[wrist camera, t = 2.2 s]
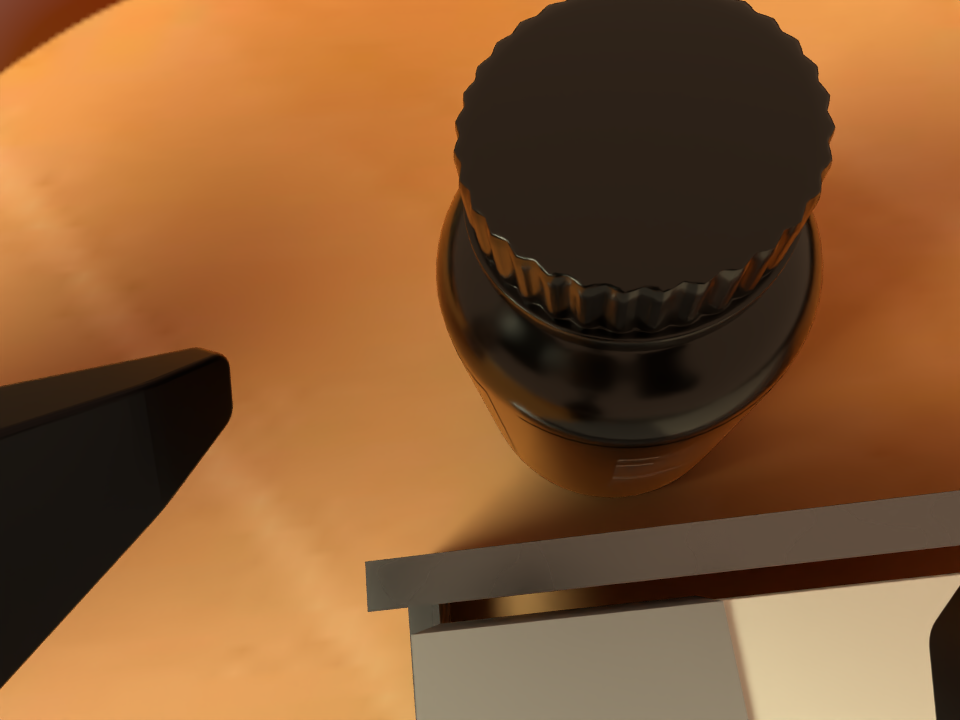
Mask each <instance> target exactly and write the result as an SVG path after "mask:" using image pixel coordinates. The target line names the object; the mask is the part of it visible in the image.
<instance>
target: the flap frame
mask: <svg viewBox="0 0 960 720" xmlns="http://www.w3.org/2000/svg"><path fill="white" fill-rule="evenodd" d="M958 545H960V490H959V491H950V492H942V493H934V494H925V495H917V496H909V497H901V498H892V499H884V500H876V501H867V502H859V503H851V504H842V505H834V506H826V507H817V508H809V509H801V510H792V511H784V512H776V513H767V514H759V515H751V516H742V517H734V518H726V519H717V520H709V521H701V522H692V523H684V524H676V525H667V526H659V527H651V528H642V529H634V530H626V531H617V532H609V533H601V534H592V535H584V536H576V537H567V538H559V539H551V540H542V541H534V542H526V543H517V544H509V545H501V546H492V547H484V548H476V549H467V550H459V551H451V552H443V553H434V554H426V555H418V556H409V557H401V558H393V559H384V560H376V561H368V562H365V566H366V586H367V606H368V612H372V611H381V610H390V609H399V608H407V607H408V612H409V626H410V641H411V635H412V634H415V633H417V632H420V631H423V630H425V629H428V628H430V627H433V626H436V625H438V624H442V623H451V617H450V606H449V603H452V602H461V601H470V600H478V599H487V598H496V597H505V596H514V595H523V594H532V593H540V592H549V591H558V590H567V589H576V588H585V587H594V586H603V585H611V584H620V583H629V582H638V581H647V580H656V579H665V578H674V577H682V576H691V575H700V574H709V573H718V572H727V571H736V570H745V569H753V568H762V567H771V566H780V565H789V564H798V563H807V562H816V561H824V560H833V559H842V558H851V557H860V556H869V555H878V554H887V553H895V552H904V551H913V550H922V549H931V548H940V547H949V546H958ZM411 655H412V641H411ZM412 670H413V684H414V669H413V655H412ZM414 699H415V713H416V698H415V684H414ZM416 720H417V713H416Z"/></svg>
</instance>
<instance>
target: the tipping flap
mask: <svg viewBox="0 0 960 720" xmlns="http://www.w3.org/2000/svg"><path fill="white" fill-rule="evenodd" d="M959 586H960V573H951V574H942V575H932V576H923V577H914V578H905V579H896V580H887V581H877V582H868V583H859V584H850V585H841V586H831V587H822V588H813V589H804V590H795V591H786V592H776V593H767V594H758V595H749V596H740V597H731V598H721V599H710V598H705V597H699V596H688V597H678V598H669V599H660V600H651V601H642V602H633V603H624V604H615V605H606V606H596V607H587V608H578V609H569V610H560V611H551V612H542V613H533V614H524V615H515V616H505V617H496V618H487V619H478V620H469V621H460V622H451V623H442V624H438V625H436V626H433V627H430V628H428V629H425V630H423V631H420V632H417V633H415V634H412V635H411V641H412V655H413V669H414V684H415V698H416V713H417V720H936V714H935V704H934V693H933V683H932V673H931V662H930V652H929V637H930V632H931V629H932V626H933V624H934V622H935V621H936V619H937V618H938V616H939V615H940V613H941V612H942V610H943V609H944V608H945V606H946V605H947V603H948V602H949V600H950V599H951V597H952V596H953V594H954V593H955V592H956V590H957V589H958V587H959Z"/></svg>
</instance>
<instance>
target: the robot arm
mask: <svg viewBox="0 0 960 720" xmlns="http://www.w3.org/2000/svg"><path fill="white" fill-rule="evenodd" d="M232 409H233V401H232V389H231V377H230V366H229V362H228V360H227V358H226V357H225V356H224V355H222V354H220V353H217V352H213V351H210V350H206V349H203V348H196V347H195V348H189V349H184V350H179V351H174V352H169V353H164V354H159V355H154V356H149V357H144V358H140V359H135V360H130V361H125V362H120V363H115V364H110V365H105V366H100V367H95V368H90V369H85V370H80V371H75V372H70V373H65V374H60V375H55V376H50V377H45V378H40V379H35V380H30V381H25V382H20V383H15V384H10V385H5V386H0V689H1V688H2V687H3V686H4V685H5V683H6V682H7V681H8V680H9V679H10V678H11V677H12V676H13V675H14V674H15V672H16V671H17V670H18V669H19V668H20V667H21V666H22V665H23V664H24V663H25V661H26V660H27V659H28V658H29V657H30V656H31V655H32V654H33V653H34V652H35V650H36V649H37V648H38V647H39V646H40V645H41V644H42V643H43V642H44V641H45V640H46V638H47V637H48V636H49V635H50V634H51V633H52V632H53V631H54V630H55V629H56V627H57V626H58V625H59V624H60V623H61V622H62V621H63V620H64V619H65V618H66V616H67V615H68V614H69V613H70V612H71V611H72V610H73V609H74V608H75V607H76V605H77V604H78V603H79V602H80V601H81V600H82V599H83V598H84V597H85V596H86V594H87V593H88V592H89V591H90V590H91V589H92V588H93V587H94V586H95V585H96V583H97V582H98V581H99V580H100V579H101V578H102V577H103V576H104V575H105V574H106V573H107V571H108V570H109V569H110V568H111V567H112V566H113V565H114V564H115V563H116V562H117V560H118V559H119V558H120V557H121V556H122V555H123V554H124V553H125V552H126V551H127V549H128V548H129V547H130V546H131V545H132V544H133V543H134V542H135V541H136V540H137V538H138V537H139V536H140V535H141V534H142V533H143V532H144V531H145V530H146V529H147V527H148V526H149V525H150V524H151V523H152V522H153V521H154V520H155V518H156V517H157V516H158V515H159V514H160V513H161V511H162V510H163V509H164V508H165V507H166V505H167V504H168V503H169V501H170V500H171V499H172V498H173V496H174V495H175V494H176V492H177V491H178V490H179V488H180V487H181V486H182V484H183V483H184V482H185V480H186V479H187V478H188V476H189V475H190V474H191V472H192V471H193V470H194V468H195V467H196V466H197V464H198V463H199V461H200V460H201V459H202V457H203V456H204V455H205V453H206V452H207V451H208V449H209V448H210V447H211V445H212V444H213V443H214V441H215V440H216V439H217V437H218V436H219V435H220V433H221V432H222V430H223V429H224V428H225V426H226V425H227V423H228V422H229V419H230V417H231V414H232ZM929 652H930V662H931V673H932V683H933V693H934V704H935V714H936V720H960V586H959V587H958V589H957V590H956V592H955V593H954V594H953V596H952V597H951V599H950V600H949V602H948V603H947V605H946V606H945V608H944V609H943V610H942V612H941V613H940V615H939V616H938V618H937V619H936V621H935V622H934V624H933V626H932V629H931V632H930V637H929Z"/></svg>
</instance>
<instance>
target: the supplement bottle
mask: <svg viewBox="0 0 960 720" xmlns="http://www.w3.org/2000/svg"><path fill="white" fill-rule="evenodd" d="M818 74H819V73H818V67H817V65H816V64H815V63H813V62H812V61H811V60H810V59H809V58H807V57H806V56H805V55H803V51H802V48H801V45H800V43H799V41H798V40H797V39H795V38H794V37H792V36H790V35H788V34H786V33H784V32H783V31H782V30H781V29H780V27H779V25H778V23H777V22H776V21H775V19H774V18H771V17H769V16H766V15H763V14H760V13H757V12H756V11H754V10H753V9H752V7H751V6H750V5H749V4H748V3H747V2H746V1H742V0H566V1H564V2H559V3H554V4H550V5H548V6H547V7H545V8H544V9H543V10H542V11H541V12H540V13H539V14H538V15H537V16H535V17H532V18H529V19H526V20H524V21H522V22H520V23H519V25H518V26H517V27H516V28H515V30H514V31H513V33H512V34H511V35H509V36H507V37H505V38H504V39H502V40H500V41H499V42H497V43H496V45H495V47H494V49H493V52H492V54H491V56H490V57H489V58H487V59H486V60H485V61H483V62H482V63H481V64H480V65H479V66H478V67H477V70H476V77H475V81H474V82H473V83H472V84H471V85H470V86H469V87H468V88H467V90H466V91H465V92H464V93H463V107H464V108H463V109H462V111H461V113H460V114H459V116H458V118H457V120H456V121H455V130H456V134H457V138H458V140H457V142H456V145H455V149H454V162H455V165H456V169H457V172H458V175H459V189H458V191H457V193H456V194H455V196H454V198H453V201H452V203H451V205H450V207H449V210H448V212H447V215H446V218H445V221H444V224H443V227H442V230H441V235H440V239H439V244H438V252H437V262H436V281H437V291H438V298H439V303H440V308H441V312H442V315H443V318H444V321H445V324H446V327H447V330H448V333H449V335H450V338H451V340H452V342H453V345H454V347H455V349H456V351H457V353H458V355H459V357H460V359H461V361H462V363H463V364H464V366H465V368H466V370H467V372H468V373H469V375H470V377H471V379H472V381H473V383H474V384H475V386H476V388H477V390H478V392H479V393H480V395H481V397H482V399H483V401H484V402H485V404H486V406H487V408H488V410H489V411H490V413H491V415H492V417H493V419H494V421H495V422H496V424H497V426H498V428H499V429H500V431H501V433H502V435H503V436H504V438H505V439H506V441H507V442H508V444H509V445H510V446H511V448H512V449H513V450H514V452H515V453H516V454H517V455H518V456H519V457H520V459H521V460H522V461H523V462H524V463H526V464H527V465H528V466H529V467H530V468H531V469H532V470H534V471H535V472H536V473H538V474H539V475H540V476H542V477H543V478H545V479H547V480H548V481H550V482H552V483H554V484H556V485H558V486H560V487H562V488H565V489H567V490H570V491H573V492H576V493H580V494H584V495H589V496H595V497H607V498H614V497H627V496H634V495H639V494H643V493H647V492H650V491H653V490H655V489H658V488H661V487H663V486H665V485H667V484H669V483H671V482H673V481H674V480H676V479H678V478H679V477H681V476H682V475H684V474H685V473H686V472H688V471H689V470H690V469H692V468H693V467H694V466H695V465H696V464H697V463H698V462H699V461H701V460H702V459H703V458H704V457H705V456H706V455H707V454H708V453H709V452H710V451H711V450H712V449H713V448H714V447H715V446H716V445H717V444H718V443H719V442H720V441H721V440H722V439H723V438H724V437H725V436H726V435H727V434H728V433H729V432H730V431H731V430H732V429H733V428H734V427H735V426H736V425H737V423H738V422H739V421H740V420H741V419H742V418H743V417H744V416H745V415H746V414H747V413H748V412H749V411H750V410H751V409H752V408H753V407H754V406H755V405H756V404H757V403H758V402H759V401H760V400H761V399H762V398H763V397H764V396H765V395H766V394H767V393H768V392H769V391H770V390H771V388H772V387H773V386H774V385H775V384H776V383H777V382H778V380H779V379H780V378H781V377H782V376H783V374H784V373H785V372H786V370H787V369H788V367H789V366H790V364H791V363H792V361H793V360H794V359H795V357H796V356H797V354H798V353H799V351H800V349H801V347H802V345H803V344H804V342H805V340H806V338H807V336H808V334H809V331H810V329H811V326H812V324H813V321H814V319H815V315H816V311H817V308H818V304H819V300H820V293H821V286H822V276H823V258H822V246H821V240H820V235H819V231H818V226H817V222H816V219H815V216H814V213H813V209H814V208H815V206H816V204H817V203H818V201H819V198H820V194H821V184H822V181H823V180H824V178H825V176H826V175H827V173H828V171H829V169H830V167H831V163H832V155H831V150H830V146H829V144H830V141H831V139H832V137H833V134H834V131H835V125H834V123H833V121H832V118H831V117H830V115H829V113H828V111H827V110H828V106H829V101H830V94H829V93H828V92H827V90H826V89H825V88H824V87H823V86H822V84H821V83H820V82H819V80H818Z"/></svg>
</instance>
